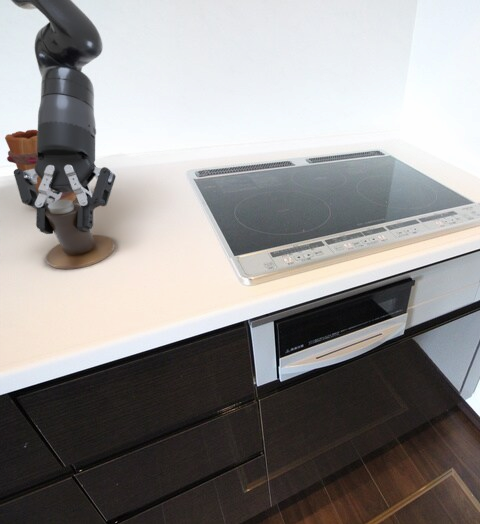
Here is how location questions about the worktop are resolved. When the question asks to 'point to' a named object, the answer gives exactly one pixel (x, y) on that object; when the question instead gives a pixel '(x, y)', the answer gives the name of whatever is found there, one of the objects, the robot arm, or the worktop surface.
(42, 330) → the worktop surface
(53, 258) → the coaster
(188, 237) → the worktop surface
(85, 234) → the pepper mill
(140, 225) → the worktop surface
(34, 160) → the mug
